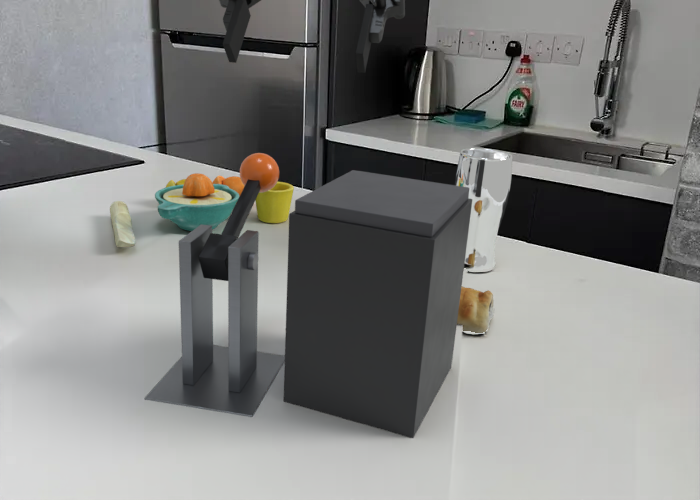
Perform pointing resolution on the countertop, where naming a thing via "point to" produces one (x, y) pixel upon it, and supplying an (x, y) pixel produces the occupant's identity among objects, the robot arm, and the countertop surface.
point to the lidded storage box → (374, 297)
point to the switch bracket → (197, 335)
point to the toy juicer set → (203, 204)
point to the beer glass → (484, 200)
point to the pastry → (475, 310)
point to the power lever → (238, 214)
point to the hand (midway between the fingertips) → (293, 58)
